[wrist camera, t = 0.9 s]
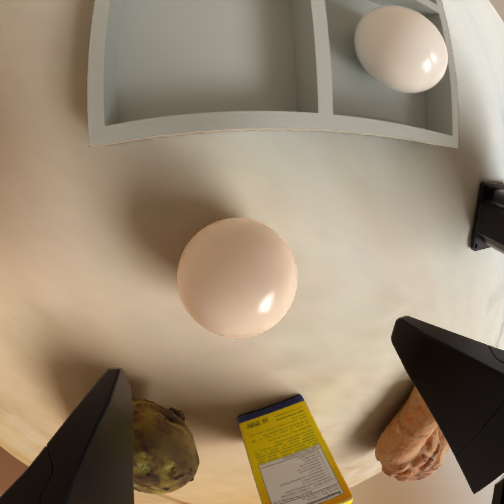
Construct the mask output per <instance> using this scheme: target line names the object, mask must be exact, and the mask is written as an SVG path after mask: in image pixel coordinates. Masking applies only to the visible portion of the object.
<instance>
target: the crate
mask: <svg viewBox="0 0 504 504" xmlns="http://www.w3.org/2000/svg"><path fill="white" fill-rule="evenodd" d="M385 5H397V6H403V7H407V8H410V9H412V10H415V11H417V12H418V13H420V14H422V15H423V16H425V17H426V18H427V19H428V20H429V21H431V22H432V23H433V24H434V25H435V27H436V28H437V29H438V31H439V32H440V34H441V35H442V37H443V39H444V42H445V44H446V48H447V52H448V64H447V68H446V71H445V74H444V76H443V77H442V79H441V80H440V81H439V82H438V83H437V84H436V85H435V86H434V87H432V88H430V89H428V90H426V91H423V92H418V93H403V92H398V91H395V90H392V89H389V88H387V87H385V86H383V85H382V84H380V83H378V82H377V81H376V80H374V79H373V78H372V77H371V76H370V75H369V74H368V73H367V72H366V71H365V69H364V68H363V67H362V65H361V63H360V61H359V59H358V57H357V55H356V51H355V47H354V33H355V29H356V26H357V24H358V22H359V21H360V19H361V18H362V17H363V16H364V15H365V14H366V13H367V12H369V11H370V10H372V9H374V8H377V7H380V6H385ZM87 111H88V134H89V147H96V146H108V145H114V144H120V143H126V142H132V141H138V140H145V139H152V138H159V137H167V136H176V135H186V134H197V133H210V132H226V131H254V130H293V131H320V132H336V133H349V134H360V135H369V136H378V137H386V138H393V139H400V140H407V141H413V142H419V143H424V144H431V145H438V146H444V147H450V148H456V149H458V143H459V116H458V94H457V82H456V72H455V64H454V57H453V50H452V44H451V39H450V34H449V29H448V24H447V20H446V16H445V12H444V8H443V4H442V0H95V3H94V10H93V16H92V24H91V33H90V43H89V56H88V78H87Z"/></svg>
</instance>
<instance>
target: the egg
mask: <svg viewBox="0 0 504 504" xmlns="http://www.w3.org/2000/svg"><path fill="white" fill-rule="evenodd" d="M354 47H355V51H356V55H357V57H358V59H359V61H360V63H361V65H362V67H363V68H364V69H365V71H366V72H367V73H368V74H369V75H370V76H371V77H372V78H373V79H374V80H376V81H377V82H378V83H380V84H382V85H383V86H385V87H387V88H389V89H392V90H395V91H398V92H403V93H418V92H423V91H426V90H428V89H430V88H432V87H434V86H435V85H436V84H437V83H438V82H439V81H440V80H441V79H442V77H443V76H444V74H445V71H446V68H447V64H448V52H447V48H446V44H445V42H444V39H443V37H442V35H441V34H440V32H439V31H438V29H437V28H436V27H435V25H434V24H433V23H432V22H431V21H429V20H428V19H427V18H426V17H425V16H423V15H422V14H420V13H418V12H417V11H415V10H412V9H410V8H407V7H403V6H397V5H385V6H380V7H377V8H374V9H372V10H370V11H369V12H367V13H366V14H365V15H364V16H363V17H362V18H361V19H360V21H359V22H358V24H357V26H356V29H355V33H354Z"/></svg>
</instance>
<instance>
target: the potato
mask: <svg viewBox="0 0 504 504" xmlns="http://www.w3.org/2000/svg"><path fill="white" fill-rule="evenodd" d="M132 410H133V425H134V469H133V475H134V490H137V491H139V492H144V493H149V494H163V493H169V492H172V491H175V490H177V489H179V488H181V487H183V486H184V485H185V484H187V483H188V482H189V481H193V480H194V476H195V474H196V472H197V469H198V466H199V457H198V453H197V449H196V446H195V442H194V439H193V435H192V433H191V431H190V429H189V428H188V427H187V425H186V424H185V423H184V420H185V418H184V415H183V413H181V411H180V410H176V409H174V408H169V409H166V408H164V407H162V406H160V405H158V404H156V403H154V402H151V401H148V400H140V401H132Z"/></svg>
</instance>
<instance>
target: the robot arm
mask: <svg viewBox="0 0 504 504" xmlns="http://www.w3.org/2000/svg"><path fill="white" fill-rule="evenodd" d="M489 247H492V248H494V249H496V250H498V251H499V252H501V253H503V254H504V184H498V183H492V182H485V181H483V182H482V183H481V186H480V194H479V202H478V209H477V215H476V221H475V226H474V232H473V237H472V241H471V250H473V251H477V250H481V249H485V248H489ZM391 341H392V344H393V346H394V348H395V350H396V352H397V354H398V355H399V357H400V359H401V362H402V364H403V366H404V368H405V370H406V372H407V374H408V375H409V377H410V379H411V380H412V382H413V384H414V385H415V387H416V389H417V390H418V392H419V393H420V395H421V397H422V398H423V400H424V402H425V404H426V405H427V407H428V409H429V410H430V412H431V414H432V416H433V417H434V419H435V421H436V422H437V424H438V426H439V428H440V430H441V431H442V433H443V435H444V437H445V439H446V440H447V442H448V444H449V446H450V448H451V449H452V452H453V453H454V455H455V458H456V460H457V462H458V463H459V465H460V468H461V470H462V472H463V474H464V475H465V478H466V480H467V482H468V484H469V486H470V488H471V490H472V492H473V493H474V494H475V493H477V492H478V491H480V490H481V489H483V488H484V487H485V486H487V485H488V484H490V483H491V482H492V481H494V480H495V479H496V478H497V477H499V476H500V475H501V474H503V473H504V350H501V349H498V348H495V347H492V346H489V345H486V344H484V343H481V342H478V341H475V340H473V339H470V338H467V337H464V336H462V335H459V334H456V333H453V332H451V331H448V330H445V329H442V328H440V327H437V326H434V325H431V324H429V323H426V322H423V321H421V320H418V319H415V318H412V317H410V316H403V317H400V318H398V319H397V320H396V322H395V325H394V329H393V332H392V335H391ZM133 469H134V425H133V410H132V391H131V387H130V384H129V382H128V380H127V378H126V376H125V374H124V371H123V370H122V369H121V368H110V369H108V370H107V371H106V372H105V373H104V374H103V376H102V377H101V378H100V379H99V380H98V382H97V383H96V384H95V385H94V386H93V388H92V389H91V390H90V391H89V392H88V394H87V395H86V396H85V397H84V398H83V400H82V401H81V402H80V403H79V405H78V406H77V407H76V408H75V409H74V411H73V412H72V413H71V414H70V416H69V417H68V418H67V419H66V421H65V422H64V423H63V424H62V426H61V427H60V428H59V429H58V431H57V432H56V433H55V435H54V436H53V437H52V438H51V440H50V441H49V442H48V444H47V446H45V447H44V449H43V450H42V451H41V452H40V454H39V455H38V456H37V457H36V459H35V460H34V461H33V462H32V464H31V465H30V466H29V467H28V468H27V470H25V472H24V473H23V474H22V475H21V476H20V477H19V478H18V479H17V480H16V481H15V482H14V483H13V485H11V487H10V488H9V489H8V490H7V491H6V492H5V493H4V494H3V495H2V496H1V497H0V504H134V475H133ZM492 504H504V475H503V477H502V478H501V479H500V480H499V481H498V482H497V483H496V484H495V487H494V493H493V499H492Z"/></svg>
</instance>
